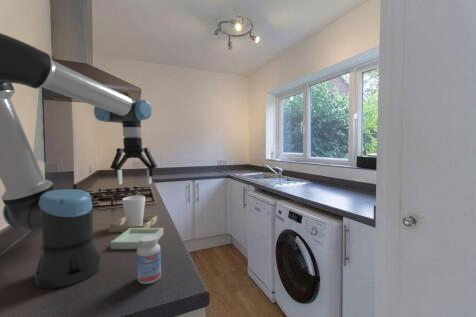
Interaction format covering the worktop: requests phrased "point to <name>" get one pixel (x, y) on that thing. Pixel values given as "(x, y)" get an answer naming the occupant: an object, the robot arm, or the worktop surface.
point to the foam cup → (134, 210)
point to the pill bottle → (148, 259)
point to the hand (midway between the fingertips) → (134, 184)
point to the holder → (117, 228)
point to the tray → (134, 237)
